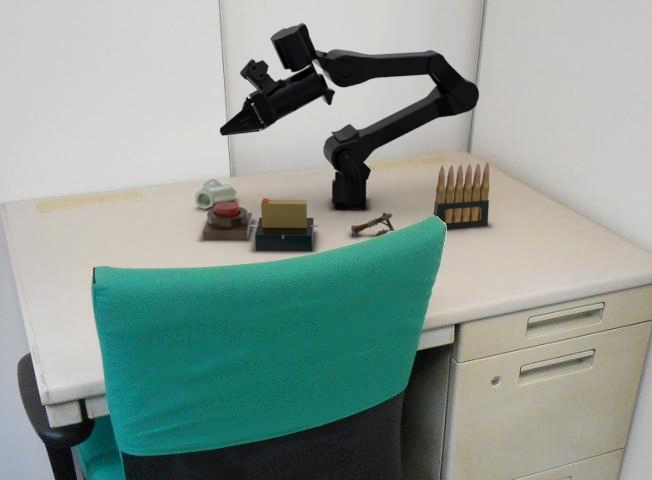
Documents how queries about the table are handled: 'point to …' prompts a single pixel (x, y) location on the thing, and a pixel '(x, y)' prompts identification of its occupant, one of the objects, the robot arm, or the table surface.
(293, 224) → the olive rectangular block
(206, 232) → the button housing
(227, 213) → the button
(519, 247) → the table surface
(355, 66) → the robot arm
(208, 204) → the pipe fitting
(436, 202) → the ammunition clip
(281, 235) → the dark rectangular block base
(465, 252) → the table surface
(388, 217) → the wooden post with brackets
